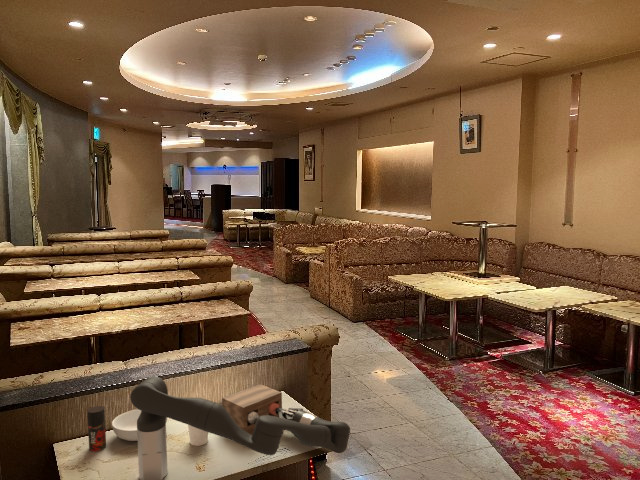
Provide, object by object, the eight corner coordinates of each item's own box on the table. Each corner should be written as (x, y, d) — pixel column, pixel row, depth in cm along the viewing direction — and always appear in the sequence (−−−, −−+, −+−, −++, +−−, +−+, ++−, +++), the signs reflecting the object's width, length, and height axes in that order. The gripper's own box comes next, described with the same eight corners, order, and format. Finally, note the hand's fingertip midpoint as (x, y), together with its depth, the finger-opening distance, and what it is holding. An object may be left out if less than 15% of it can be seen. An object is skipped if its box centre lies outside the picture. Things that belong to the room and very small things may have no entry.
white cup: (204, 447, 185) (203, 422, 184) (184, 445, 186) (184, 420, 185) (212, 437, 192) (212, 413, 192) (194, 435, 194) (193, 411, 193)
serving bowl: (174, 422, 206) (174, 407, 205) (157, 448, 185) (156, 430, 184) (125, 422, 206) (125, 407, 206) (102, 448, 185) (102, 430, 185)
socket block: (282, 422, 205) (281, 392, 204) (244, 439, 190) (243, 407, 189) (260, 412, 214) (260, 384, 213) (222, 428, 200) (221, 397, 199)
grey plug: (258, 421, 194) (258, 411, 194) (250, 425, 191) (249, 414, 190) (243, 414, 201) (242, 404, 200) (234, 417, 198) (234, 407, 197)
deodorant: (87, 452, 182) (85, 413, 181) (90, 444, 188) (88, 407, 186) (105, 450, 183) (103, 411, 182) (107, 442, 189) (105, 405, 188)
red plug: (279, 412, 202) (279, 402, 201) (271, 416, 199) (271, 405, 198) (264, 406, 209) (263, 396, 208) (255, 409, 206) (255, 399, 205)
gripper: (318, 408, 192) (288, 396, 204) (294, 419, 183) (264, 406, 195) (318, 426, 193) (288, 413, 205) (294, 438, 183) (264, 424, 195)
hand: (276, 409), depth 200 cm, fingers closed
